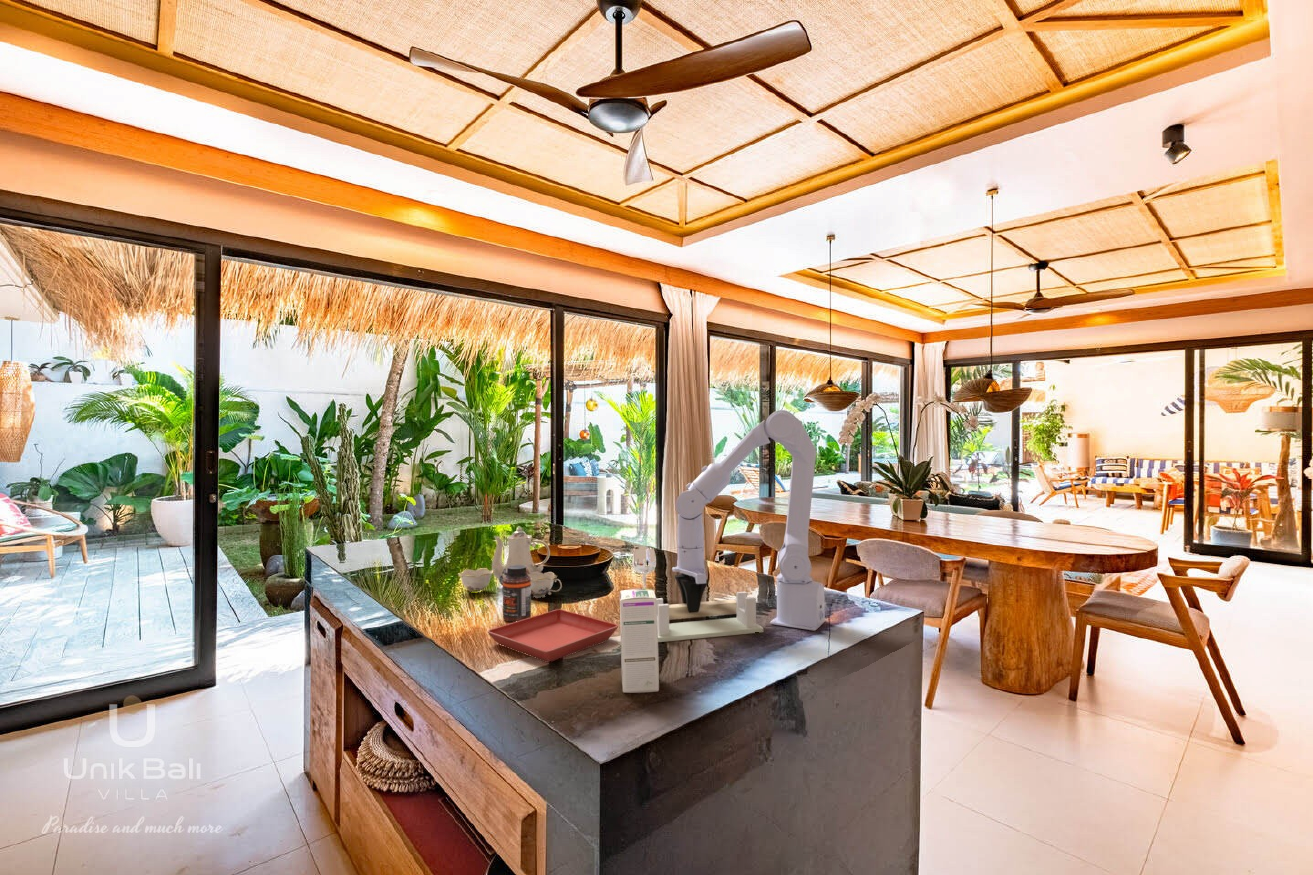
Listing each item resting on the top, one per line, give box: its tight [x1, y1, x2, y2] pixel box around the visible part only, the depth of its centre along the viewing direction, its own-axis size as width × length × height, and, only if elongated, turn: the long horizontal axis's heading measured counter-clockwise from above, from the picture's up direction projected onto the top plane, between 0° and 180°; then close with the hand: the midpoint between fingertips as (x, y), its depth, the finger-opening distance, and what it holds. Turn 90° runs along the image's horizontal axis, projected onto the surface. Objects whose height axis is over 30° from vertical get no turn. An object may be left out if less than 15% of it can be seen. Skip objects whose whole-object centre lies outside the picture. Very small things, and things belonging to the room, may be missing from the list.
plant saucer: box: [487, 608, 619, 663], centre depth 117 cm, size 18×18×3 cm
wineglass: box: [631, 545, 657, 589], centre depth 149 cm, size 6×6×12 cm
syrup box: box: [619, 588, 660, 694], centre depth 96 cm, size 6×6×14 cm
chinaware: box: [457, 525, 563, 599], centre depth 156 cm, size 28×17×17 cm, turn 80°
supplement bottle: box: [502, 565, 532, 623], centre depth 132 cm, size 6×6×11 cm
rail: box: [668, 598, 737, 620], centre depth 131 cm, size 22×2×2 cm, turn 104°
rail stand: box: [656, 591, 764, 643], centre depth 123 cm, size 22×8×6 cm, turn 104°
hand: (691, 609), depth 131 cm, fingers closed on rail, 2 cm apart
